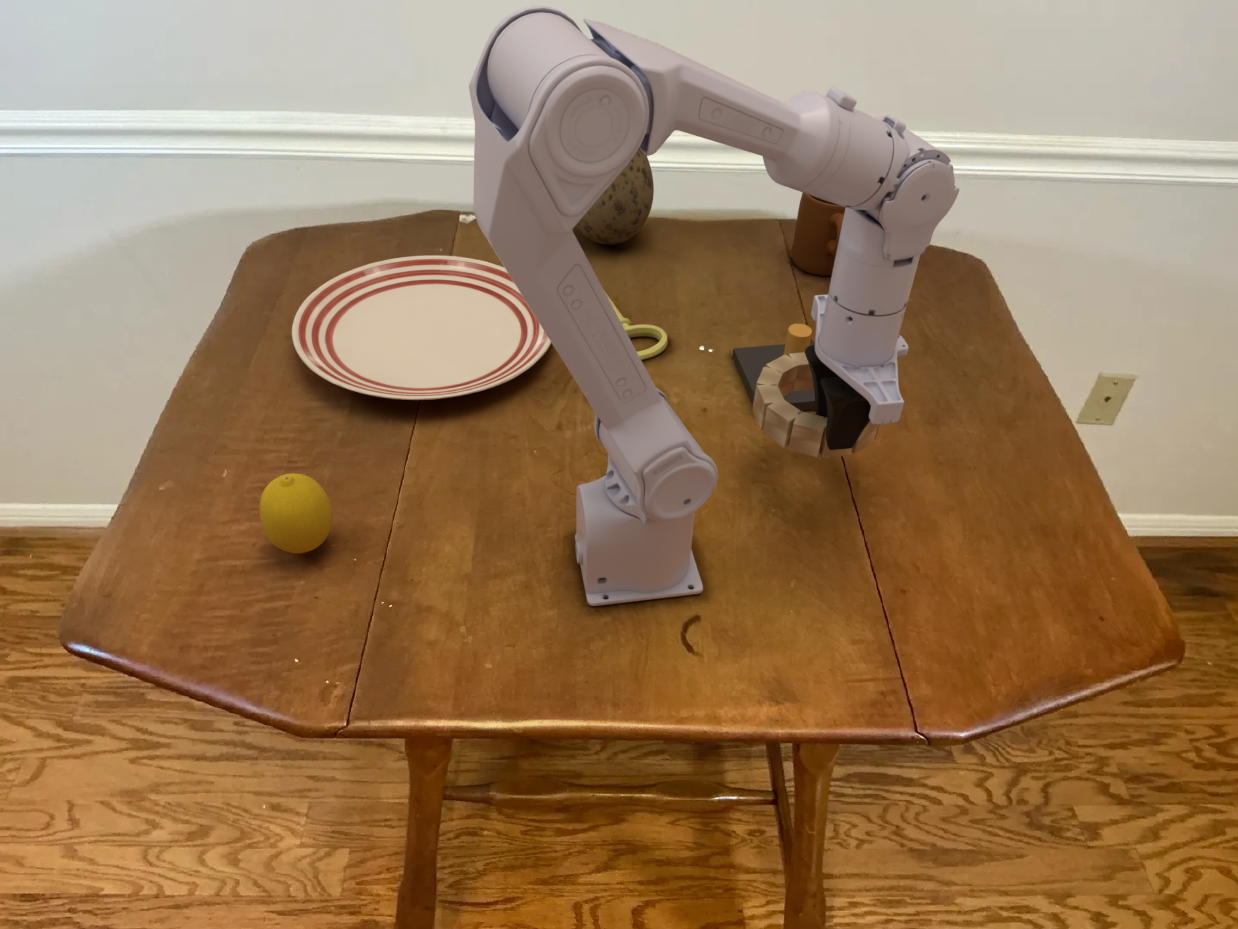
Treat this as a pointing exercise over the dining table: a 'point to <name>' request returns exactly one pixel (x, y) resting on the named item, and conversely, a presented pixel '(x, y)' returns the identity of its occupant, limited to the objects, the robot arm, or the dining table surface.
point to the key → (644, 334)
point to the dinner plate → (419, 328)
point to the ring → (796, 410)
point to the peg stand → (757, 358)
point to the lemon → (295, 513)
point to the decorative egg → (621, 204)
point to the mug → (817, 235)
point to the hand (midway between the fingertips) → (834, 436)
